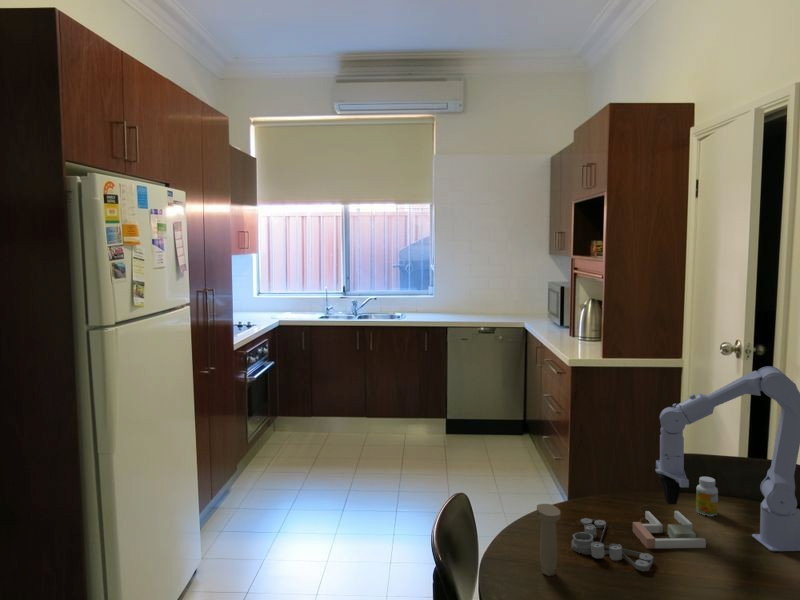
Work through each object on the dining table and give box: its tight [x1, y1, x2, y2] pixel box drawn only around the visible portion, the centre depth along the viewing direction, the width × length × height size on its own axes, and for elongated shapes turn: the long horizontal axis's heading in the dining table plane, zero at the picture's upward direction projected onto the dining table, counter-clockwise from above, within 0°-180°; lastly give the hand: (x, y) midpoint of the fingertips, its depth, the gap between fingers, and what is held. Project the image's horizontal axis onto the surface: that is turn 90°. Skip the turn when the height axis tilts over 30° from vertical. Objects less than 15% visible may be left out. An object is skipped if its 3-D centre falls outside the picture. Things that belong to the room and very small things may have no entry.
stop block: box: [632, 521, 656, 549], centre depth 145 cm, size 2×9×2 cm, turn 179°
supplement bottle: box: [695, 476, 719, 517], centre depth 159 cm, size 5×5×10 cm
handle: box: [536, 503, 561, 577], centre depth 130 cm, size 5×6×15 cm
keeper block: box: [667, 523, 697, 538], centre depth 145 cm, size 5×5×3 cm
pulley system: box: [571, 517, 654, 572], centre depth 142 cm, size 27×5×15 cm
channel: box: [642, 510, 707, 549], centre depth 149 cm, size 14×16×2 cm
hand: (671, 503), depth 151 cm, fingers closed
